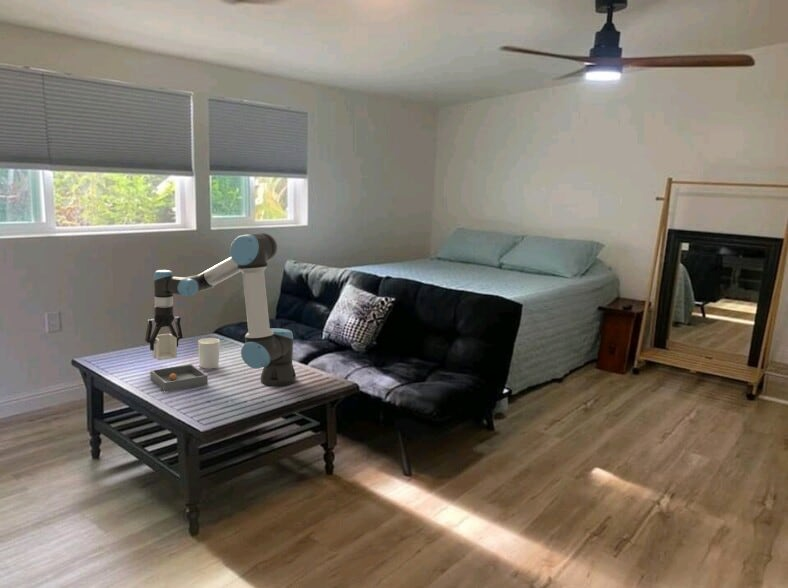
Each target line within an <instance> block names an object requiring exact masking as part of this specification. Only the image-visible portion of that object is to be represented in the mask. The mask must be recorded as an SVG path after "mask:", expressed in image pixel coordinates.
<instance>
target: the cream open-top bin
mask: <svg viewBox="0 0 788 588" xmlns="http://www.w3.org/2000/svg"><path fill="white" fill-rule="evenodd" d="M155 343H156V358H155V359H156V360H157V361H161V360H168V359H169V360H170V359H175V358H178V357H177V356H178V347H177V338H176V337H175V336H173V335H172V333H163V334H158V335H157V337H156V339H155Z"/></svg>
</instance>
